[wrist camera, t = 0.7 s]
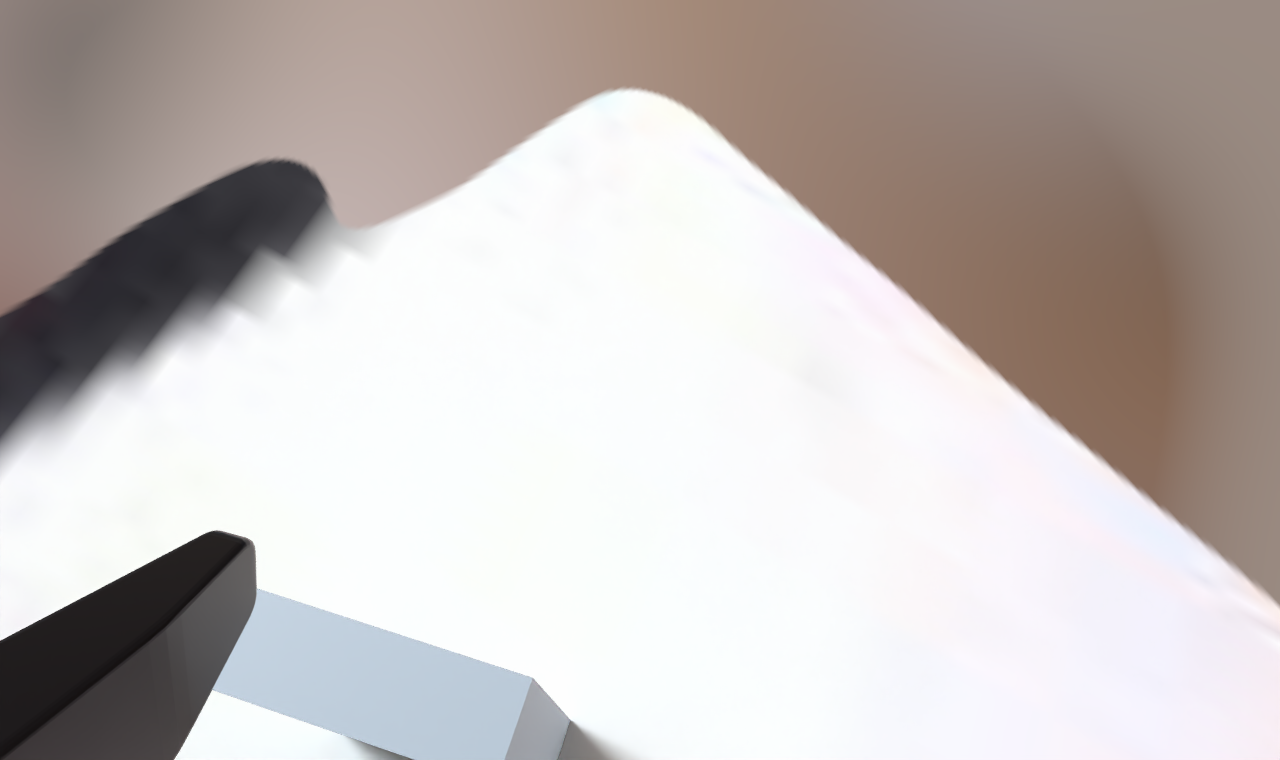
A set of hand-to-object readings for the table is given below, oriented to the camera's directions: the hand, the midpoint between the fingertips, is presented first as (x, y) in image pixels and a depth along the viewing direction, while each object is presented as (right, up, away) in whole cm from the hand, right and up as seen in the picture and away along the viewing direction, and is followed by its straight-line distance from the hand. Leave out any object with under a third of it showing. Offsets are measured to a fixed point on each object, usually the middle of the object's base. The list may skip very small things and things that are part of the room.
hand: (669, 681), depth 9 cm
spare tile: (-5, -6, +15) cm, 17 cm away
